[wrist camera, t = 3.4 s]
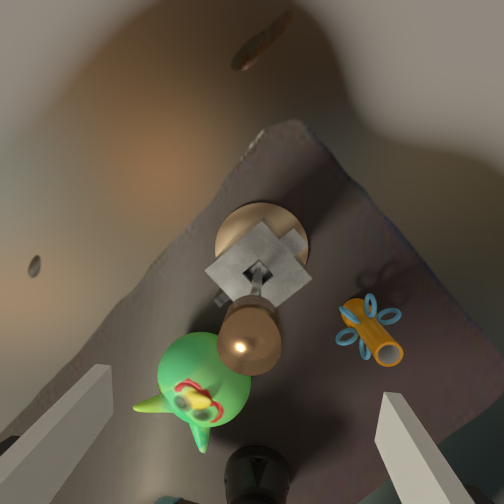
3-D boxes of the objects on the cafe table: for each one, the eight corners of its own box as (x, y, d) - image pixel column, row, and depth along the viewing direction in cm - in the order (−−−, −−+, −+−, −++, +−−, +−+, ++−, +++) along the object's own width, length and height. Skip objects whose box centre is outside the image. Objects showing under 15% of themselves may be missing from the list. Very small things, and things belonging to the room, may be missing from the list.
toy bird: (267, 357, 56) (267, 411, 42) (218, 406, 60) (203, 473, 45) (202, 304, 55) (179, 342, 41) (155, 358, 58) (118, 411, 44)
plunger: (294, 272, 37) (323, 353, 18) (256, 302, 38) (244, 409, 19) (261, 234, 36) (253, 276, 17) (223, 266, 37) (176, 340, 18)
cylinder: (331, 281, 52) (356, 313, 38) (385, 283, 52) (432, 317, 37) (326, 337, 55) (348, 388, 40) (378, 340, 54) (418, 393, 40)
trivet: (326, 254, 51) (327, 254, 50) (256, 309, 54) (256, 311, 54) (266, 182, 49) (266, 182, 48) (197, 244, 52) (196, 245, 52)
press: (307, 244, 50) (327, 267, 34) (246, 294, 53) (237, 338, 37) (273, 204, 49) (276, 207, 33) (213, 257, 52) (187, 285, 36)
